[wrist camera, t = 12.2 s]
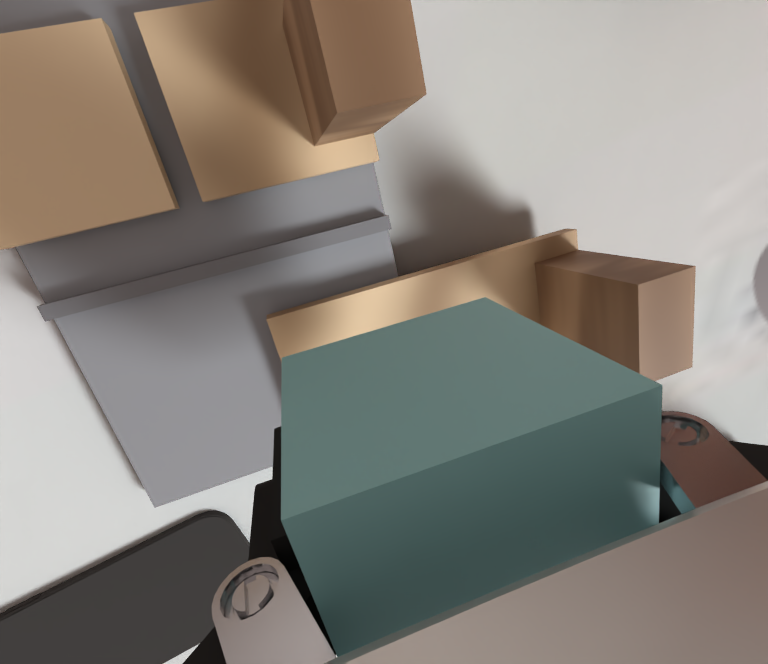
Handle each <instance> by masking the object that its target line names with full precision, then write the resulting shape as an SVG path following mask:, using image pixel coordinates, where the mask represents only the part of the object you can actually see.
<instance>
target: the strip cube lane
mask: <svg viewBox="0 0 768 664" xmlns="http://www.w3.org/2000/svg"><path fill="white" fill-rule="evenodd" d="M695 267H696V266H690V265H683V264H676V263H669V262H661V261H654V260H647V259H640V258H632V257H625V256H618V255H611V254H603V253H596V252H589V251H582V250H578V243H577V229H563V230H559V231H556V232H552V233H549V234H545V235H542V236H538V237H535V238H532V239H528V240H525V241H521V242H518V243H514V244H511V245H507V246H504V247H500V248H497V249H493V250H490V251H486V252H483V253H480V254H476V255H473V256H469V257H466V258H462V259H459V260H455V261H452V262H448V263H445V264H441V265H438V266H434V267H431V268H428V269H424V270H421V271H417V272H414V273H410V274H407V275H403V276H400V277H396V278H393V279H389V280H386V281H382V282H379V283H375V284H372V285H369V286H365V287H362V288H358V289H355V290H351V291H348V292H344V293H341V294H337V295H334V296H330V297H327V298H323V299H320V300H317V301H313V302H310V303H306V304H303V305H299V306H296V307H292V308H289V309H285V310H282V311H278V312H275V313H271V314H268V315H267V319H266V320H267V322H268V325H269V328H270V331H271V334H272V337H273V340H274V343H275V345H276V348H277V351H278V354H279V357H280V360H281V363H282V357H286V356H289V355H292V354H296V353H299V352H302V351H306V350H309V349H313V348H316V347H319V346H323V345H326V344H329V343H333V342H336V341H339V340H343V339H346V338H349V337H353V336H356V335H359V334H363V333H366V332H370V331H373V330H376V329H380V328H383V327H386V326H390V325H393V324H396V323H400V322H403V321H406V320H410V319H413V318H417V317H420V316H423V315H427V314H430V313H433V312H437V311H440V310H443V309H447V308H450V307H453V306H457V305H460V304H463V303H467V302H470V301H474V300H477V299H480V298H484V297H486V298H488V299H490V300H492V301H494V302H496V303H498V304H500V305H502V306H504V307H506V308H508V309H510V310H512V311H514V312H516V313H518V314H520V315H522V316H524V317H526V318H528V319H530V320H532V321H534V322H536V323H538V324H540V325H542V326H544V327H546V328H548V329H550V330H552V331H554V332H556V333H558V334H560V335H562V336H564V337H566V338H568V339H570V340H572V341H574V342H576V343H579V344H581V345H583V346H585V347H587V348H589V349H591V350H593V351H595V352H597V353H599V354H601V355H603V356H605V357H607V358H609V359H611V360H613V361H615V362H617V363H619V364H621V365H623V366H625V367H627V368H629V369H631V370H633V371H635V372H637V373H639V374H641V375H643V376H645V377H647V378H649V379H651V380H653V381H656V380H659V379H662V378H664V377H667V376H670V375H672V374H675V373H678V372H680V371H683V370H686V369H688V368H691V367H692V359H693V328H694V298H695Z"/></svg>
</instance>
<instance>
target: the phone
mask: <svg viewBox="0 0 768 664" xmlns="http://www.w3.org/2000/svg"><path fill="white" fill-rule="evenodd" d="M249 547H250V543H249V542H248V540H247V539H246V537H245V536H244V535H243V533H242V532H241V531H240V529H239V528H238V526H237V525H236V524H235V522H234V521H233V520H232V518H231V517H229V516H228V515H227V514H225V513H223V512H220V511H208V512H204V513H201V514H199V515H196V516H194V517H192V518H190V519H188V520H186V521H184V522H182V523H180V524H178V525H176V526H174V527H172V528H170V529H168V530H166V531H164V532H162V533H160V534H158V535H156V536H154V537H152V538H150V539H148V540H146V541H144V542H142V543H141V544H139V545H137V546H135V547H133V548H131V549H129V550H127V551H125V552H123V553H121V554H119V555H117V556H115V557H113V558H111V559H109V560H107V561H105V562H103V563H101V564H99V565H97V566H95V567H93V568H91V569H89V570H87V571H85V572H83V573H81V574H79V575H77V576H75V577H73V578H71V579H69V580H67V581H65V582H63V583H61V584H59V585H57V586H55V587H53V588H51V589H49V590H47V591H45V592H43V593H41V594H38V595H36V596H34V597H32V598H30V599H28V600H26V601H24V602H22V603H20V604H18V605H16V606H14V607H12V608H10V609H8V610H7V611H5V612H3V613H1V614H0V664H163V663H165V662H167V661H168V660H170V659H172V658H174V657H176V656H177V655H179V654H181V653H183V652H185V651H187V650H188V649H190V648H192V647H194V646H196V645H197V644H199V643H201V642H202V641H203V640H204V638H205V637H206V636H207V635H208V634H209V633H210V631H211V630H212V629H213V628H214V627H215V624H214V621H213V618H212V603H213V599H214V595H215V594H216V592H217V590H218V588H219V586H220V585H221V583H222V582H223V581H224V580H225V579H226V578H227V576H228V575H229V574H230V573H231V572H233V571H234V570H235V569H236V568H238V567H239V566H241V565H242V564H244V563H246V562H248V558H249Z"/></svg>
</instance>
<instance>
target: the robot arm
mask: <svg viewBox="0 0 768 664" xmlns="http://www.w3.org/2000/svg"><path fill="white" fill-rule="evenodd" d="M212 618H213V621H214V624H215V627H214V628H213V629H212V630H211V631H210V633H209V634H208V635H207V636H206V637H205V638H204V640H203V641H202V642H201V643H200V644H199V645H198V647H197V648H196V649H195V650H194V651H193V652H192V654H191V655H190V656H189V657H188V658H187V659H186V661H185V662H184V663H183V664H768V446H765V445H757V444H749V443H741V442H733V441H728V440H727V439H726V438H725V437H724V436H723V435H722V434H721V433H720V432H719V431H718V430H717V429H716V428H715V427H714V426H712V425H711V424H710V423H708V422H707V421H706V420H703V419H701V418H699V417H697V416H694V415H690V414H687V413H682V412H674V411H663V412H662V415H661V456H660V496H659V524H656V525H654V526H651V527H649V528H646V529H644V530H642V531H639V532H637V533H634V534H632V535H629V536H627V537H624V538H622V539H619V540H617V541H614V542H612V543H609V544H607V545H605V546H602V547H600V548H597V549H595V550H592V551H590V552H587V553H585V554H583V555H580V556H578V557H575V558H573V559H570V560H568V561H565V562H563V563H561V564H558V565H556V566H553V567H551V568H548V569H546V570H544V571H541V572H539V573H536V574H534V575H531V576H529V577H527V578H524V579H522V580H519V581H517V582H514V583H512V584H510V585H507V586H505V587H502V588H500V589H497V590H495V591H493V592H490V593H488V594H485V595H483V596H481V597H478V598H476V599H473V600H471V601H469V602H466V603H464V604H462V605H459V606H457V607H454V608H452V609H450V610H447V611H445V612H442V613H440V614H438V615H435V616H433V617H430V618H428V619H426V620H423V621H421V622H419V623H416V624H414V625H411V626H409V627H407V628H404V629H402V630H399V631H397V632H395V633H392V634H390V635H387V636H385V637H383V638H380V639H378V640H376V641H373V642H371V643H369V644H367V645H364V646H362V647H360V648H357V649H355V650H353V651H351V652H348V653H346V654H344V655H342V656H339V657H337V658H336V656H335V655H336V652H335V650H334V647H333V645H332V642H331V640H330V638H329V635H328V633H327V630H326V628H325V626H324V623H323V621H322V618H321V616H320V613H319V611H318V609H317V606H316V604H315V601H314V599H313V597H312V594H311V592H310V589H309V587H308V584H307V582H306V580H305V577H304V575H303V572H302V570H301V568H300V565H299V563H298V560H297V558H296V556H295V553H294V551H293V548H292V546H291V543H290V541H289V539H288V536H287V534H286V531H285V529H284V527H283V524H282V522H281V426H280V427H277V428H275V429H274V448H273V478H272V480H269V481H266V482H263V483H260V484H257V485H256V487H255V493H254V503H253V514H252V525H251V536H250V547H249V558H248V562H246V563H244V564H242V565H241V566H239V567H238V568H236V569H235V570H234V571H233V572H231V573H230V574H229V575H228V576H227V578H226V579H225V580H224V581H223V582H222V583H221V585H220V586H219V588H218V590H217V592H216V594H215V595H214V599H213V603H212Z"/></svg>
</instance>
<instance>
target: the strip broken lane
mask: <svg viewBox="0 0 768 664" xmlns="http://www.w3.org/2000/svg"><path fill="white" fill-rule="evenodd" d="M134 15H135V18H136V21H137V23H138V26H139V29H140V32H141V34H142V37H143V40H144V42H145V45H146V48H147V51H148V53H149V56H150V59H151V62H152V64H153V67H154V70H155V73H156V75H157V78H158V81H159V84H160V86H161V89H162V92H163V95H164V97H165V100H166V103H167V105H168V108H169V111H170V114H171V116H172V119H173V122H174V125H175V127H176V130H177V133H178V136H179V138H180V141H181V144H182V147H183V149H184V152H185V155H186V157H187V160H188V163H189V166H190V168H191V171H192V174H193V177H194V179H195V182H196V185H197V188H198V190H199V193H200V196H201V199H202V201H203V202H208V201H213V200H217V199H221V198H225V197H229V196H234V195H238V194H242V193H246V192H251V191H255V190H259V189H263V188H268V187H272V186H276V185H280V184H284V183H289V182H293V181H297V180H301V179H306V178H310V177H314V176H318V175H323V174H327V173H331V172H335V171H339V170H344V169H348V168H352V167H356V166H361V165H365V164H369V163H373V162H376V161H379V155H378V151H377V146H376V142H375V137H374V133H375V132H376V131H377V130H379V129H380V128H381V127H383V126H384V125H385V124H387V123H388V122H390V121H391V120H392V119H394V118H395V117H396V116H398V115H399V114H400V113H402V112H403V111H404V110H406V109H407V108H408V107H410V106H411V105H412V104H414V103H415V102H416V101H418V100H419V99H421V98H422V97H423V96H425V95H426V88H425V83H424V77H423V71H422V65H421V59H420V53H419V47H418V42H417V36H416V30H415V24H414V18H413V12H412V6H411V1H410V0H213V1H206V2H200V3H193V4H187V5H181V6H174V7H168V8H161V9H155V10H149V11H142V12H136V13H134Z"/></svg>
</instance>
